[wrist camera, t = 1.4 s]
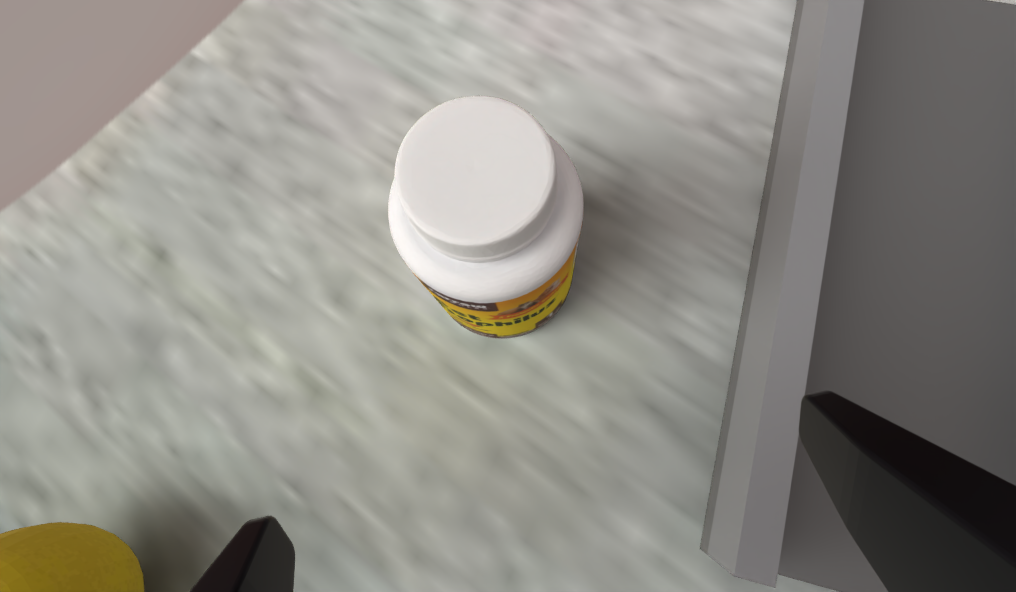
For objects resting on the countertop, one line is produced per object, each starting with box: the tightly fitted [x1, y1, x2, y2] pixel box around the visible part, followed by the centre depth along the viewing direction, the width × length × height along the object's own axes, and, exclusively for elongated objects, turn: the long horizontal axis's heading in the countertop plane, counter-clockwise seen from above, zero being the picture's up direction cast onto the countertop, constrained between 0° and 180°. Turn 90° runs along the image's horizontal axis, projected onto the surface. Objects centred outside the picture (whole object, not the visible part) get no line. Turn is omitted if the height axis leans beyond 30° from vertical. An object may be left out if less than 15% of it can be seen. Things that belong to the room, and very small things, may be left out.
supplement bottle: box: [388, 96, 583, 339], centre depth 19 cm, size 6×6×10 cm
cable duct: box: [700, 0, 1016, 592], centre depth 21 cm, size 24×11×4 cm, turn 166°
